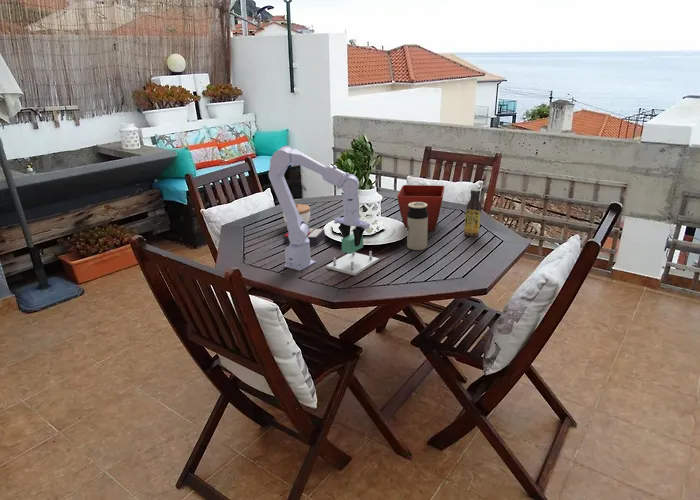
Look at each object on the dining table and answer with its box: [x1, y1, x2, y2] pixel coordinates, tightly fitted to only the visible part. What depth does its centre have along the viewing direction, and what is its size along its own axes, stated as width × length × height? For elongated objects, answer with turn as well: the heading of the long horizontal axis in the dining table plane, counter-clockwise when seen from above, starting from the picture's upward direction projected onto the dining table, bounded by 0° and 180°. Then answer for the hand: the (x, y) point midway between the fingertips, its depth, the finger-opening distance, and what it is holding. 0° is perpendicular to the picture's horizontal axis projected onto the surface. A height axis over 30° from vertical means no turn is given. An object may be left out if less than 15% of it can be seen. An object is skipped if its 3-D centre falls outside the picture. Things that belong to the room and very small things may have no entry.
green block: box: [340, 233, 364, 254], centre depth 179 cm, size 8×4×5 cm, turn 144°
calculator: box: [283, 227, 326, 246], centre depth 209 cm, size 11×4×15 cm
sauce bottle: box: [463, 188, 482, 237], centre depth 204 cm, size 7×6×20 cm
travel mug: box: [406, 202, 428, 251], centre depth 193 cm, size 8×8×18 cm
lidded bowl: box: [282, 203, 311, 225], centre depth 224 cm, size 13×13×11 cm
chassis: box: [325, 250, 380, 276], centre depth 181 cm, size 16×13×4 cm
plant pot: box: [397, 184, 445, 232], centre depth 217 cm, size 19×19×17 cm
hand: (352, 244), depth 179 cm, fingers closed on green block, 4 cm apart
